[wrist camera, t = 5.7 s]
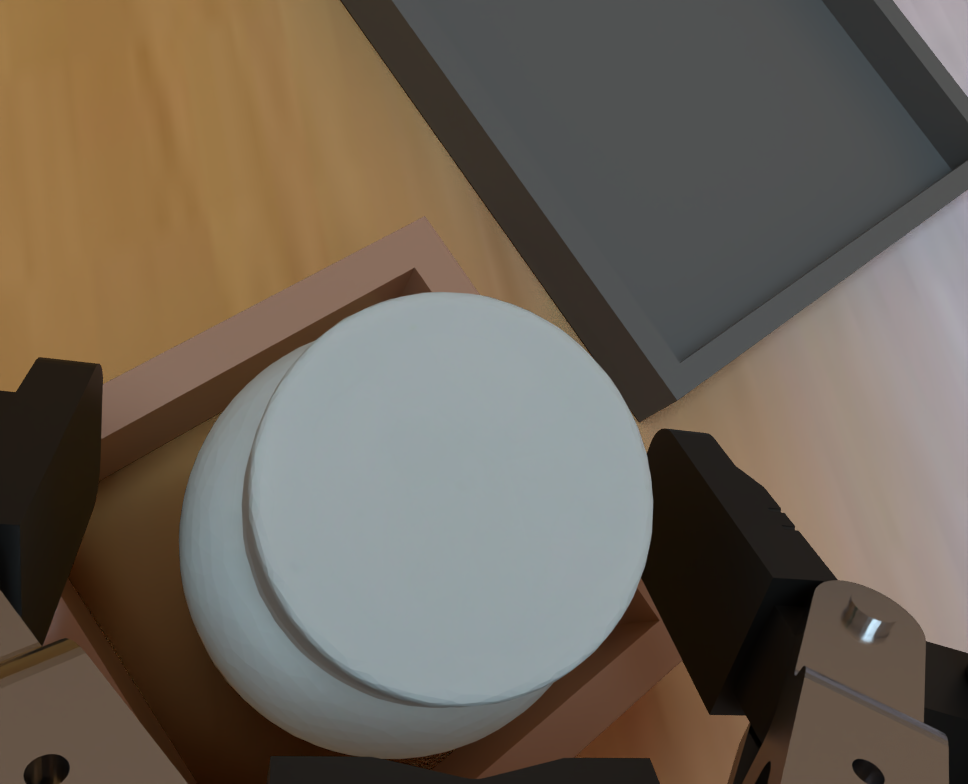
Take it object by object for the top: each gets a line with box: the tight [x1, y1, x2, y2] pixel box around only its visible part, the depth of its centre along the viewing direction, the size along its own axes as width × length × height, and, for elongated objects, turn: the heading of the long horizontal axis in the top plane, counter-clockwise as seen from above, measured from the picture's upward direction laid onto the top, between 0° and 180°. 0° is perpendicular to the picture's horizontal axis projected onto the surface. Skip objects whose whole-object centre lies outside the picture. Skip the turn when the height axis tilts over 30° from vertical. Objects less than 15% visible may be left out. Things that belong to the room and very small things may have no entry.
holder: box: [43, 216, 682, 784], centre depth 16 cm, size 10×10×2 cm
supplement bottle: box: [179, 292, 653, 759], centre depth 13 cm, size 5×5×10 cm
